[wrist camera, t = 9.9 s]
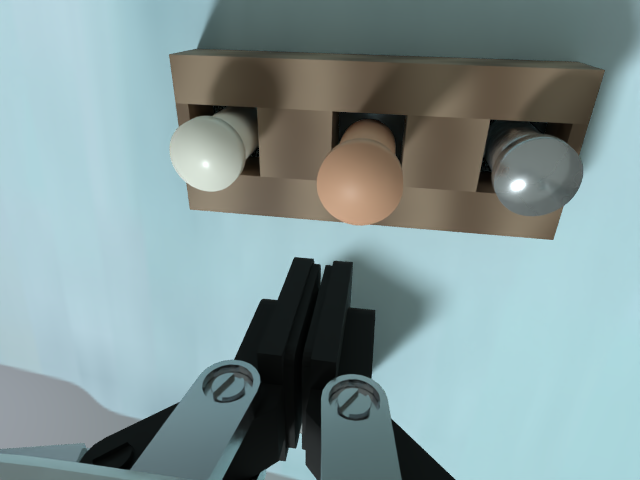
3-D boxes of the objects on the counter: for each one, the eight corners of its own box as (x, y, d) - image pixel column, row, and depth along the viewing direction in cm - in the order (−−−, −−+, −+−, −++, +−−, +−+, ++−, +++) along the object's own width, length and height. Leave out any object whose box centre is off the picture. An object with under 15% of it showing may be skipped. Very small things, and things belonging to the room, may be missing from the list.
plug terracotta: (405, 113, 26) (408, 146, 20) (398, 180, 28) (398, 228, 22) (335, 110, 27) (317, 140, 20) (333, 176, 29) (316, 221, 22)
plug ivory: (270, 98, 30) (237, 121, 24) (272, 158, 32) (242, 194, 26) (211, 95, 30) (164, 117, 24) (217, 154, 32) (175, 188, 26)
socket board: (577, 61, 26) (605, 70, 23) (535, 213, 31) (553, 239, 27) (196, 48, 29) (169, 54, 26) (211, 188, 34) (190, 209, 31)
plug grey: (550, 111, 27) (594, 141, 21) (533, 175, 29) (569, 219, 23) (480, 108, 28) (504, 136, 22) (469, 171, 30) (487, 212, 24)
